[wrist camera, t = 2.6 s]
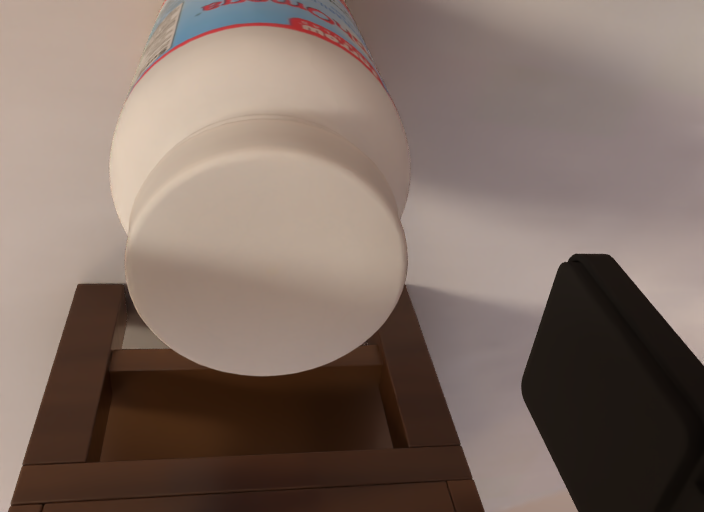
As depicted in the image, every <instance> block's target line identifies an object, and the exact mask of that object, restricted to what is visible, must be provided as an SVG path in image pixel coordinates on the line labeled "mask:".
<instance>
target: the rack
mask: <svg viewBox="0 0 704 512" xmlns="http://www.w3.org/2000/svg"><path fill="white" fill-rule="evenodd" d="M127 319H128V317H127V307H126V297H125V287H124V285H123V284H79V285H77V288H76V291H75V295H74V298H73V301H72V304H71V308H70V311H69V314H68V317H67V321H66V324H65V327H64V330H63V334H62V337H61V340H60V343H59V347H58V350H57V353H56V356H55V360H54V363H53V366H52V369H51V373H50V376H49V379H48V382H47V386H46V389H45V392H44V395H43V399H42V402H41V405H40V408H39V412H38V415H37V418H36V421H35V425H34V428H33V431H32V434H31V438H30V441H29V444H28V447H27V451H26V454H25V457H24V460H23V466H22V468H21V471H20V474H19V478H18V481H17V484H16V487H15V491H14V494H13V497H12V500H11V506H10V508H9V510H8V512H485V511H484V508H483V505H482V502H481V500H480V497H479V494H478V491H477V488H476V485H475V482H474V480H473V479H472V475H471V472H470V469H469V466H468V463H467V460H466V458H465V455H464V452H463V449H462V447H461V446H460V445H461V443H460V440H459V437H458V435H457V432H456V429H455V426H454V423H453V420H452V417H451V414H450V411H449V409H448V406H447V403H446V400H445V397H444V394H443V391H442V388H441V386H440V383H439V380H438V377H437V374H436V371H435V368H434V365H433V363H432V360H431V357H430V354H429V351H428V348H427V345H426V342H425V340H424V337H423V334H422V331H421V328H420V325H419V322H418V319H417V316H416V314H415V311H414V308H413V305H412V302H411V299H410V296H409V293H408V291H407V288H406V285H404V287H403V291H402V293H401V295H400V298H399V300H398V302H397V304H396V306H395V308H394V309H393V311H392V312H391V314H390V316H389V317H388V319H387V320H386V321H385V323H384V324H383V325H382V326H381V327H380V328H379V329H378V330H377V331H376V332H375V333H374V334H373V335H372V336H371V337H370V338H369V339H368V340H367V342H368V345H360V346H359V347H357V348H356V349H354V350H353V351H351V352H350V353H348V354H346V355H344V356H342V357H340V358H338V359H336V360H335V361H333V362H330V363H328V364H325V365H322V366H320V367H317V368H314V369H310V370H306V371H302V372H299V373H293V374H286V375H276V376H249V375H239V374H233V373H227V372H223V371H219V370H215V369H212V368H209V367H206V366H203V365H200V364H198V363H196V362H194V361H192V360H190V359H188V358H186V357H184V356H182V355H180V354H178V353H177V352H175V351H174V350H173V349H122V344H123V339H124V334H125V329H126V324H127Z"/></svg>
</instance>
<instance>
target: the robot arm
mask: <svg viewBox="0 0 704 512" xmlns="http://www.w3.org/2000/svg"><path fill="white" fill-rule="evenodd" d="M521 389H522V396H523V399H524V401H525V403H526V406H527V408H528V410H529V412H530V414H531V416H532V418H533V420H534V422H535V424H536V426H537V428H538V430H539V432H540V434H541V436H542V438H543V440H544V442H545V444H546V446H547V448H548V451H549V453H550V455H551V457H552V459H553V461H554V463H555V465H556V467H557V469H558V471H559V473H560V475H561V477H562V479H563V481H564V483H565V485H566V487H567V489H568V491H569V493H570V496H571V498H572V500H573V501H574V504H575V506H576V508H577V510H578V512H704V366H703V365H702V363H701V362H700V361H699V360H698V359H697V357H696V356H695V355H694V354H693V353H692V351H691V350H690V349H689V348H688V347H687V345H686V344H685V343H684V342H683V341H682V340H681V338H680V337H679V336H678V335H677V334H676V332H675V331H674V330H673V329H672V328H671V326H670V325H669V324H668V323H667V322H666V320H665V319H664V318H663V317H662V316H661V315H660V313H659V312H658V311H657V310H656V309H655V307H654V306H653V305H652V304H651V303H650V301H649V300H648V299H647V298H646V297H645V295H644V294H643V293H642V292H641V291H640V290H639V288H638V287H637V286H636V285H635V284H634V282H633V281H632V280H631V279H630V278H629V276H628V275H627V274H626V273H625V272H624V270H623V269H622V268H621V267H620V266H619V265H618V263H617V262H616V261H615V260H614V259H613V258H612V257H611V256H610V255H607V254H574V255H572V256H571V257H570V259H569V260H568V262H564V263H562V264H561V265H560V266H559V268H558V271H557V274H556V277H555V280H554V283H553V286H552V289H551V292H550V295H549V298H548V301H547V304H546V307H545V310H544V313H543V316H542V319H541V322H540V325H539V329H538V332H537V335H536V338H535V341H534V344H533V347H532V350H531V353H530V356H529V359H528V362H527V365H526V368H525V371H524V374H523V377H522V383H521Z"/></svg>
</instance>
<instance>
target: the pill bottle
mask: <svg viewBox="0 0 704 512" xmlns="http://www.w3.org/2000/svg"><path fill="white" fill-rule="evenodd" d="M109 173H110V186H111V193H112V197H113V202H114V205H115V209H116V212H117V214H118V217H119V219H120V222H121V224H122V226H123V228H124V230H125V232H126V234H127V235H128V239H127V244H126V249H125V277H126V282H127V286H128V290H129V294H130V297H131V299H132V301H133V304H134V306H135V309H136V311H137V312H138V314H139V315H140V317H141V318H142V320H143V321H144V323H145V324H146V325H147V326H148V327H149V329H150V330H151V331H152V332H153V333H154V334H155V335H156V336H157V337H158V338H159V339H160V340H161V341H162V342H163V343H164V344H166V345H167V346H168V347H170V348H171V349H173V350H174V351H175V352H177V353H178V354H180V355H182V356H184V357H186V358H188V359H190V360H192V361H194V362H196V363H198V364H200V365H203V366H206V367H209V368H212V369H215V370H219V371H223V372H227V373H233V374H239V375H249V376H276V375H286V374H293V373H299V372H302V371H306V370H310V369H314V368H317V367H320V366H322V365H325V364H328V363H330V362H333V361H335V360H336V359H338V358H340V357H342V356H344V355H346V354H348V353H350V352H351V351H353V350H354V349H356V348H357V347H359V346H360V345H361V344H363V343H364V342H365V341H366V340H368V339H369V338H370V337H371V336H372V335H373V334H374V333H375V332H376V331H377V330H378V329H379V328H380V327H381V326H382V325H383V324H384V323H385V321H386V320H387V319H388V317H389V316H390V314H391V312H392V311H393V309H394V308H395V306H396V304H397V302H398V300H399V298H400V295H401V293H402V291H403V287H404V283H405V280H406V274H407V266H408V256H407V244H406V239H405V234H404V230H403V227H402V224H401V221H400V219H401V216H402V214H403V211H404V208H405V204H406V201H407V197H408V191H409V185H410V153H409V147H408V142H407V138H406V134H405V131H404V128H403V125H402V122H401V120H400V117H399V114H398V112H397V109H396V107H395V105H394V103H393V101H392V99H391V97H390V95H389V93H388V91H387V89H386V86H385V84H384V82H383V80H382V78H381V76H380V74H379V71H378V69H377V67H376V66H375V63H374V61H373V59H372V57H371V55H370V53H369V51H368V49H367V47H366V44H365V42H364V40H363V38H362V36H361V34H360V32H359V30H358V28H357V26H356V23H355V21H354V19H353V17H352V15H351V13H350V11H349V9H348V7H347V6H346V4H345V2H344V1H343V0H165V1H164V3H163V5H162V7H161V9H160V11H159V13H158V16H157V18H156V21H155V24H154V27H153V29H152V31H151V34H150V36H149V39H148V41H147V44H146V46H145V48H144V51H143V54H142V56H141V59H140V62H139V65H138V67H137V70H136V73H135V75H134V78H133V81H132V84H131V86H130V89H129V92H128V94H127V97H126V100H125V102H124V105H123V108H122V110H121V113H120V116H119V119H118V122H117V126H116V129H115V132H114V137H113V141H112V145H111V153H110V164H109Z"/></svg>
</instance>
